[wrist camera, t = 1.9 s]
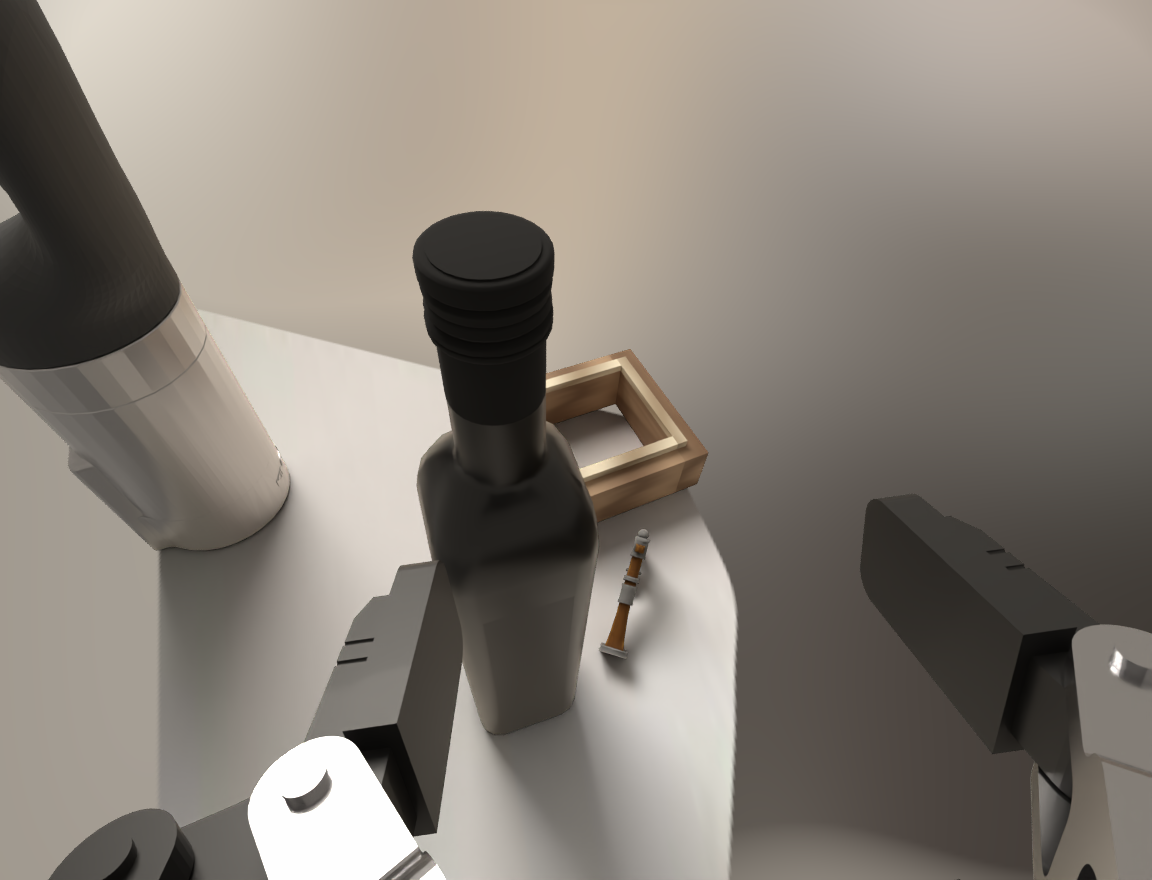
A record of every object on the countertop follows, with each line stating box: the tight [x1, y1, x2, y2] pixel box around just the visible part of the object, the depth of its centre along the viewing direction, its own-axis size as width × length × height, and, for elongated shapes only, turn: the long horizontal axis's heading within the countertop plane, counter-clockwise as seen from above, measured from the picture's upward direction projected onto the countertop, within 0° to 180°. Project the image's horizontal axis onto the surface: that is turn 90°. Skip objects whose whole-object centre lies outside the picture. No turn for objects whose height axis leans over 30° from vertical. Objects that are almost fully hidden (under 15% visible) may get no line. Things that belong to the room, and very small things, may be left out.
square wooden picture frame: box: [546, 349, 708, 522], centre depth 45 cm, size 12×12×5 cm
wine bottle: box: [412, 211, 599, 735], centre depth 24 cm, size 6×6×30 cm
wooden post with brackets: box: [599, 529, 650, 659], centre depth 38 cm, size 2×8×4 cm, turn 164°
